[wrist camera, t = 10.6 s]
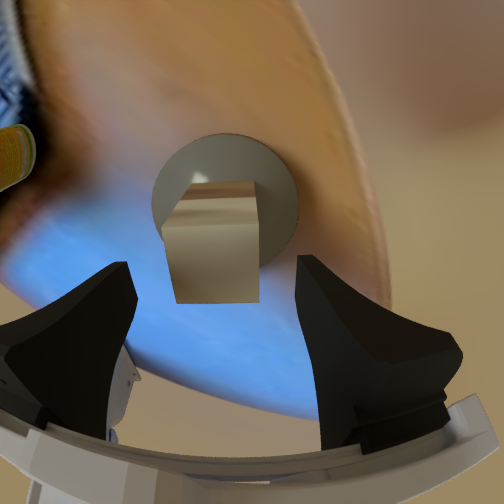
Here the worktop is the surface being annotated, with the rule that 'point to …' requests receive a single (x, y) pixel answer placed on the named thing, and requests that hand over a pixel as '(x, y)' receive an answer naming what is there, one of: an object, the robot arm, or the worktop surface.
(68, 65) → the worktop surface
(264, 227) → the stand
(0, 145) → the supplement bottle
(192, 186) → the block
